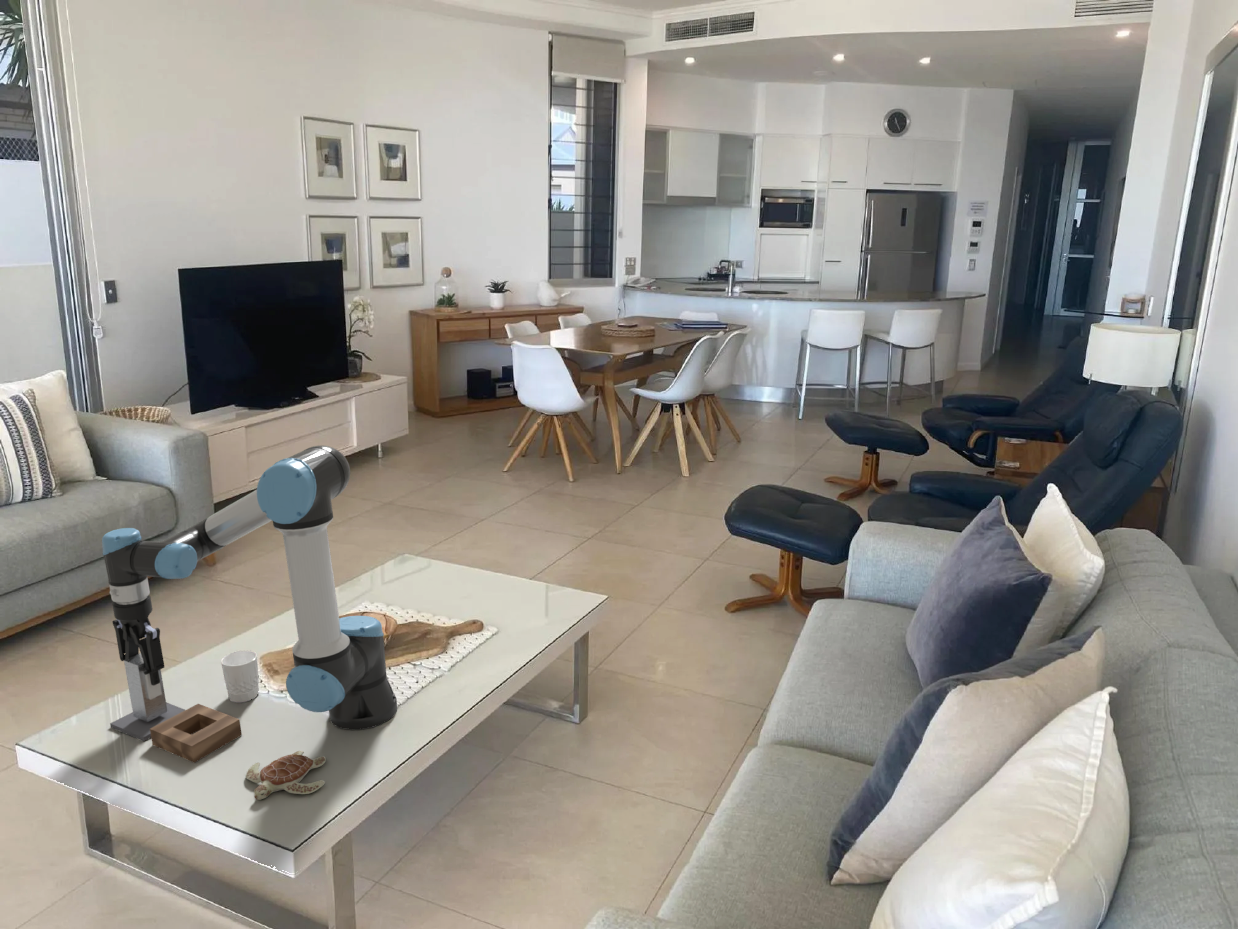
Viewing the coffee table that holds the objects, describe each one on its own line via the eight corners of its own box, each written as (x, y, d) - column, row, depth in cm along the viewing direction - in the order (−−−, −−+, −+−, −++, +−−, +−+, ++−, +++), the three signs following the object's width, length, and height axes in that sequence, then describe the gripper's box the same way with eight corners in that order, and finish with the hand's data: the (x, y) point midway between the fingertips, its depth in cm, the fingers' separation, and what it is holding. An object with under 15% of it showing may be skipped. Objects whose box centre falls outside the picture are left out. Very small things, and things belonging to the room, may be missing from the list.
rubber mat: (192, 716, 214) (191, 712, 214) (143, 741, 204) (143, 737, 204) (159, 703, 220) (158, 699, 219) (110, 727, 210) (110, 723, 209)
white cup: (249, 705, 218) (244, 667, 215) (219, 702, 220) (213, 664, 217) (268, 689, 225) (263, 651, 223) (239, 686, 227) (233, 649, 224)
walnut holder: (241, 735, 206) (239, 719, 205) (194, 763, 196) (191, 746, 195) (200, 719, 212) (198, 703, 211) (152, 745, 202) (149, 728, 201)
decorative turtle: (221, 795, 186) (217, 773, 184) (280, 751, 200) (277, 730, 199) (292, 816, 179) (290, 794, 177) (348, 769, 193) (346, 748, 192)
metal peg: (167, 711, 212) (158, 656, 208) (147, 722, 208) (137, 665, 204) (153, 706, 215) (144, 651, 211) (133, 716, 210) (123, 660, 207)
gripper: (90, 596, 205) (107, 691, 211) (141, 612, 196) (157, 711, 202) (122, 584, 211) (137, 677, 217) (172, 599, 202) (187, 695, 209)
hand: (147, 693), depth 210 cm, fingers closed on metal peg, 5 cm apart
